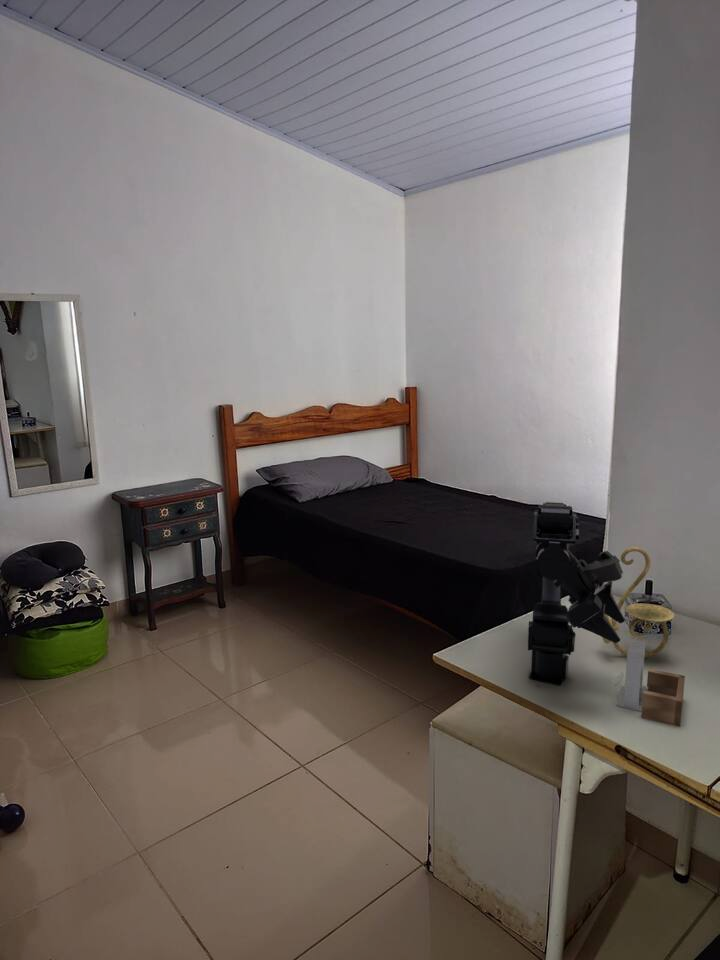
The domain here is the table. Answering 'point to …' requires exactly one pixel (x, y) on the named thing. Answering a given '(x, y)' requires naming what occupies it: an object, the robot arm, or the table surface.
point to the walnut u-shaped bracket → (663, 697)
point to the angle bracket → (633, 678)
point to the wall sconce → (641, 609)
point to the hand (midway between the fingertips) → (620, 631)
